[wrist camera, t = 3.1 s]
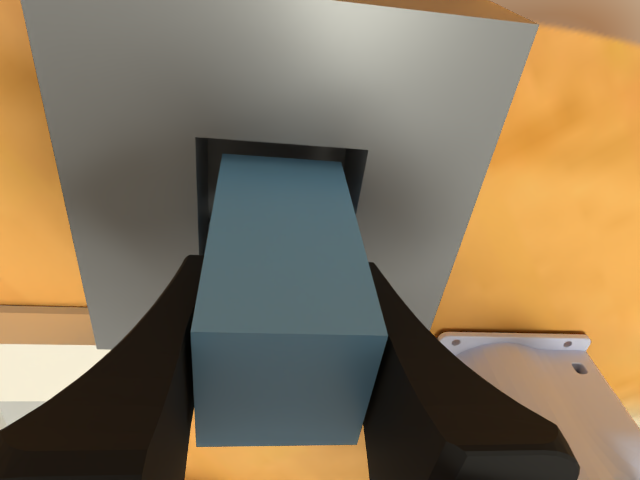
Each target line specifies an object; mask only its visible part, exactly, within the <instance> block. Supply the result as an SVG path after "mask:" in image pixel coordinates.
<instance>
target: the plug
mask: <svg viewBox="0 0 640 480" xmlns="http://www.w3.org/2000/svg"><path fill="white" fill-rule="evenodd" d="M387 338H388V333H387V330H386V326H385V322H384V318H383V315H382V311H381V307H380V304H379V300H378V296H377V293H376V289H375V285H374V281H373V278H372V274H371V270H370V267H369V263H368V259H367V256H366V252H365V248H364V245H363V241H362V237H361V233H360V230H359V226H358V222H357V219H356V215H355V211H354V208H353V204H352V200H351V196H350V193H349V189H348V185H347V182H346V178H345V174H344V171H343V167H342V163H341V162H335V161H321V160H307V159H293V158H279V157H265V156H250V155H236V154H222V159H221V164H220V170H219V175H218V181H217V187H216V192H215V198H214V203H213V209H212V215H211V220H210V226H209V231H208V237H207V243H206V248H205V254H204V259H203V265H202V271H201V276H200V282H199V287H198V293H197V299H196V304H195V310H194V315H193V321H192V327H191V351H192V370H193V390H194V409H195V429H196V447H222V446H297V445H357V442H358V439H359V435H360V432H361V428H362V425H363V421H364V418H365V414H366V411H367V408H368V404H369V401H370V397H371V394H372V390H373V387H374V383H375V380H376V376H377V373H378V369H379V366H380V362H381V359H382V355H383V352H384V349H385V345H386V342H387Z"/></svg>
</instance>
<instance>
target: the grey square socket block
mask: <svg viewBox="0 0 640 480" xmlns="http://www.w3.org/2000/svg"><path fill="white" fill-rule="evenodd" d="M21 5H22V9H23V14H24V19H25V23H26V28H27V32H28V37H29V41H30V46H31V51H32V55H33V60H34V64H35V69H36V73H37V78H38V83H39V87H40V92H41V96H42V101H43V105H44V110H45V115H46V119H47V124H48V128H49V133H50V137H51V142H52V147H53V151H54V156H55V160H56V165H57V169H58V174H59V179H60V183H61V188H62V192H63V197H64V201H65V206H66V211H67V215H68V220H69V224H70V229H71V233H72V238H73V243H74V247H75V252H76V256H77V261H78V265H79V270H80V275H81V279H82V284H83V288H84V293H85V297H86V302H87V307H88V311H89V316H90V320H91V325H92V329H93V334H94V339H95V343H96V348H97V349H105V350H112V349H113V348H114V347H115V346H116V345H117V344H118V343H119V342H120V341H121V340H122V339H123V338H124V337H125V336H126V335H127V334H128V333H129V332H130V331H131V330H132V329H133V328H134V327H135V325H136V324H137V323H138V322H139V321H140V320H141V318H142V317H143V316H144V315H145V314H146V313H147V312H148V310H149V309H150V308H151V307H152V306H153V304H154V303H155V302H156V300H157V299H158V298H159V296H160V295H161V294H162V292H163V291H164V290H165V288H166V287H167V286H168V284H169V283H170V281H171V280H172V278H173V277H174V276H175V274H176V272H177V271H178V269H179V268H180V266H181V264H182V263H183V261H184V259H185V257H187V256H188V255H204V254H205V248H206V243H207V237H208V231H209V226H210V220H211V215H212V209H213V203H214V198H215V192H216V187H217V181H218V175H219V170H220V164H221V159H222V154H236V155H250V156H265V157H279V158H293V159H307V160H321V161H335V162H341V163H342V167H343V171H344V174H345V178H346V182H347V185H348V189H349V193H350V196H351V200H352V204H353V208H354V211H355V215H356V219H357V222H358V226H359V230H360V233H361V237H362V241H363V245H364V248H365V252H366V256H367V259H368V262H374V263H375V265H376V266H377V267H378V268H379V270H380V271H381V273H382V274H383V275H384V277H385V278H386V279H387V281H388V282H389V283H390V285H391V286H392V287H393V289H394V290H395V291H396V293H397V294H398V295H399V296H400V298H401V299H402V300H403V301H404V303H405V304H406V305H407V306H408V307H409V309H410V310H411V311H412V312H413V313H414V315H415V316H416V317H417V318H418V319H419V320H420V321H421V323H422V324H423V325H424V326H425V327H426V328H427V329H428V330H429V331H430V329H431V326H432V323H433V320H434V317H435V315H436V312H437V309H438V306H439V303H440V301H441V298H442V295H443V292H444V289H445V287H446V284H447V281H448V278H449V275H450V273H451V270H452V267H453V264H454V261H455V259H456V256H457V253H458V250H459V247H460V245H461V242H462V239H463V236H464V234H465V231H466V228H467V225H468V222H469V220H470V217H471V214H472V211H473V208H474V206H475V203H476V200H477V197H478V194H479V192H480V189H481V186H482V183H483V180H484V178H485V175H486V172H487V169H488V166H489V164H490V161H491V158H492V155H493V152H494V150H495V147H496V144H497V141H498V139H499V136H500V133H501V130H502V127H503V125H504V122H505V119H506V116H507V113H508V111H509V108H510V105H511V102H512V99H513V97H514V94H515V91H516V88H517V85H518V83H519V80H520V77H521V74H522V71H523V69H524V66H525V63H526V60H527V58H528V55H529V52H530V49H531V46H532V44H533V41H534V38H535V35H536V32H537V30H538V27H539V24H537V23H535V22H533V21H531V20H529V19H527V18H525V17H523V16H520V15H518V14H516V13H514V12H512V11H510V10H508V9H506V8H504V7H502V6H500V5H498V4H496V3H494V2H492V1H490V0H21Z"/></svg>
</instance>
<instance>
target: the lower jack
mask: <svg viewBox="0 0 640 480" xmlns="http://www.w3.org/2000/svg"><path fill="white" fill-rule="evenodd" d="M110 351H111V350H105V349H97V348H96V343H95V339H94V334H93V329H92V325H91V320H90V316H89V311H88V307H49V306H7V305H0V430H1V429H3V428H5V427H7V426H8V425H10V424H12V423H13V422H15V421H16V420H18V419H20V418H21V417H23V416H25V415H26V414H28V413H29V412H31V411H33V410H34V409H36V408H37V407H39V406H41V405H42V404H44V403H45V402H46V401H48V400H49V399H51V398H52V397H53V396H55V395H56V394H58V393H59V392H60V391H62V390H63V389H64V388H66V387H67V386H68V385H70V384H71V383H72V382H74V381H75V380H76V379H78V378H79V377H80V376H82V375H83V374H84V373H85V372H87V371H88V370H89V369H90V368H91V367H93V366H94V365H95V364H96V363H97V362H98V361H99V360H101V359H102V358H103V357H104V356H105V355H106V354H107V353H109V352H110Z"/></svg>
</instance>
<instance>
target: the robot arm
mask: <svg viewBox="0 0 640 480" xmlns="http://www.w3.org/2000/svg"><path fill="white" fill-rule="evenodd" d="M203 259H204V255H188V256H187V257H185V259H184V261H183V263H182V264H181V266H180V268H179V269H178V271H177V272H176V274H175V276H174V277H173V278H172V280H171V281H170V283H169V284H168V286H167V287H166V288H165V290H164V291H163V292H162V294H161V295H160V296H159V298H158V299H157V300H156V302H155V303H154V304H153V306H152V307H151V308H150V309H149V310H148V312H147V313H146V314H145V315H144V316H143V317H142V318H141V320H140V321H139V322H138V323H137V324H136V325H135V327H134V328H133V329H132V330H131V331H130V332H129V333H128V334H127V335H126V336H125V337H124V338H123V339H122V340H121V341H120V342H119V343H118V344H117V345H116V346H115V347H114V348H113V349H112V350H111V351H110V352H109V353H107V354H106V355H105V356H104V357H103V358H102V359H101V360H99V361H98V362H97V363H96V364H95V365H94V366H93V367H91V368H90V369H89V370H88V371H87V372H85V373H84V374H83V375H82V376H80V377H79V378H78V379H76V380H75V381H74V382H72V383H71V384H70V385H68V386H67V387H66V388H64V389H63V390H62V391H60V392H59V393H58V394H56V395H55V396H53V397H52V398H51V399H49V400H48V401H46V402H45V403H44V404H42V405H41V406H39V407H37V408H36V409H34V410H33V411H31V412H29V413H28V414H26V415H25V416H23V417H21V418H20V419H18V420H16V421H15V422H13V423H12V424H10V425H8V426H7V427H5V428H3V429H1V430H0V480H184V478H185V469H186V461H187V452H188V444H189V436H190V428H191V422H192V416H193V410H194V390H193V370H192V351H191V327H192V321H193V315H194V310H195V304H196V299H197V293H198V287H199V282H200V276H201V271H202V265H203ZM368 263H369V267H370V270H371V274H372V278H373V281H374V285H375V289H376V293H377V296H378V300H379V304H380V307H381V311H382V315H383V318H384V322H385V326H386V330H387V333H388V338H387V342H386V345H385V349H384V352H383V355H382V359H381V362H380V366H379V369H378V373H377V376H376V380H375V383H374V387H373V390H372V394H371V397H370V401H369V404H368V408H367V411H366V414H365V418H364V421H363V426H364V434H365V442H366V451H367V459H368V469H369V478H370V480H640V429H639V427H638V426H637V424H636V423H635V421H634V420H633V419H632V417H631V416H630V414H629V413H628V411H627V410H626V408H625V407H624V406H623V404H622V403H621V401H620V400H619V398H618V397H617V395H616V394H615V393H614V391H613V390H612V388H611V387H610V385H609V384H608V382H607V381H606V380H605V378H604V377H603V375H602V374H601V372H600V371H599V370H598V368H597V367H596V365H595V364H594V362H593V361H592V359H591V358H590V357H589V355H588V354H587V352H586V350H587V348H588V347H589V345H590V343H591V340H590V338H589V337H588V336H587V335H584V334H538V333H485V332H444V333H442V334H440V335H439V337H438V338H436V337H435V336H434V335H433V334H432V333H431V332H430V331H429V330H428V329H427V328H426V327H425V326H424V325H423V324H422V323H421V321H420V320H419V319H418V318H417V317H416V316H415V315H414V313H413V312H412V311H411V310H410V309H409V307H408V306H407V305H406V304H405V303H404V301H403V300H402V299H401V298H400V296H399V295H398V294H397V293H396V291H395V290H394V289H393V287H392V286H391V285H390V283H389V282H388V281H387V279H386V278H385V277H384V275H383V274H382V273H381V271H380V270H379V268H378V267H377V266H376V265H375V263H374V262H368Z"/></svg>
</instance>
